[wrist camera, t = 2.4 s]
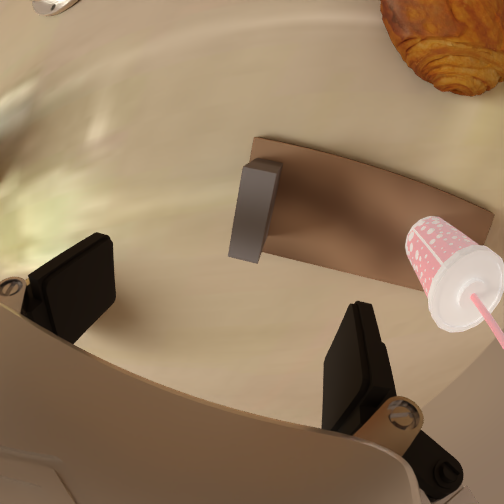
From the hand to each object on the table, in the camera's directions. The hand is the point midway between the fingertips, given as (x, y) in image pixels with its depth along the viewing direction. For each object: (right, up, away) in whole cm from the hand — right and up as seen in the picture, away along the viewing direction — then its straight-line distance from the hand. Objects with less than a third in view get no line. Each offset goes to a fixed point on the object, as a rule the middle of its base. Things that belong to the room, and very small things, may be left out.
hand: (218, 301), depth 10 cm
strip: (+11, +4, +12) cm, 17 cm away
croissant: (+18, +21, +3) cm, 28 cm away
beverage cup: (+16, +3, +12) cm, 20 cm away
